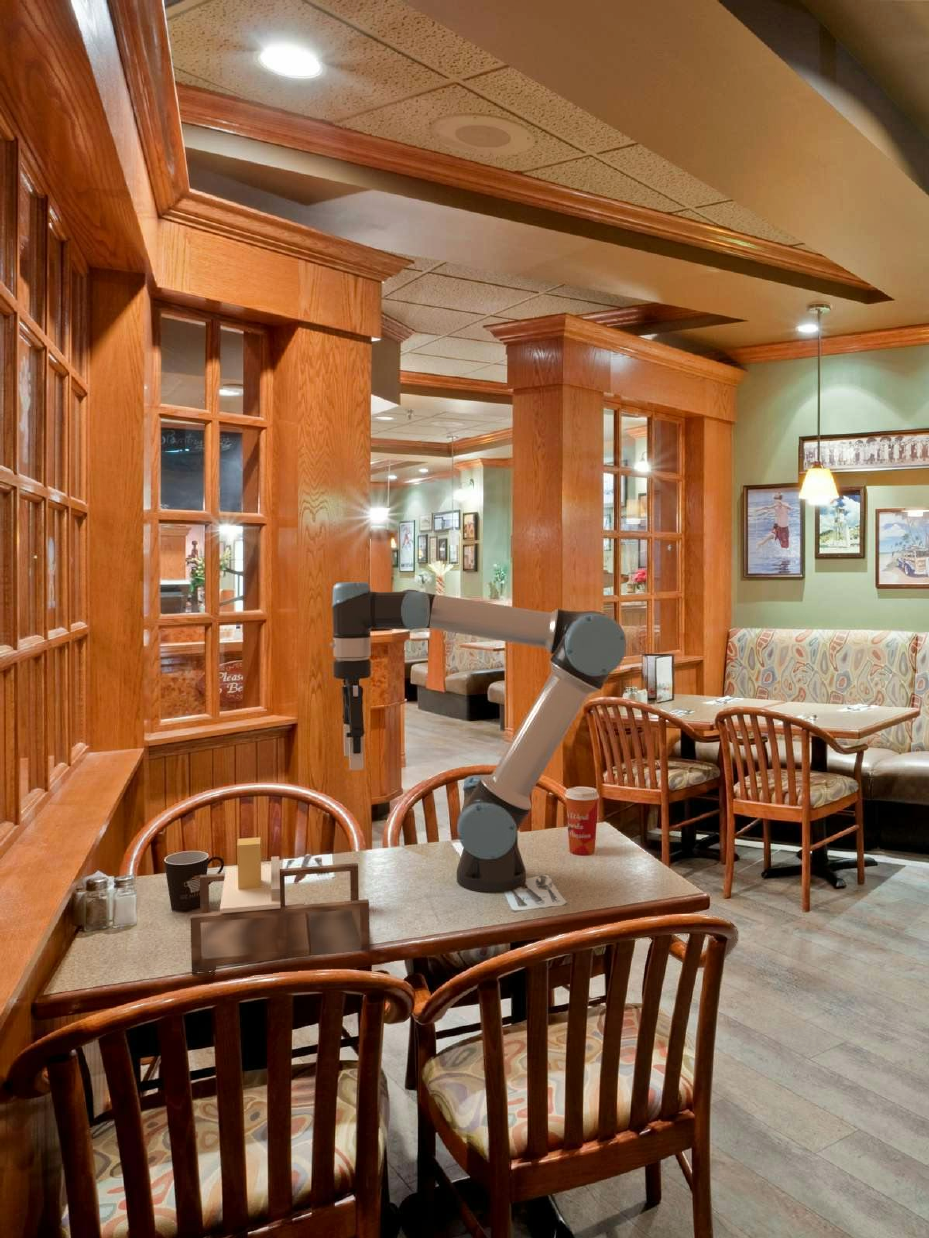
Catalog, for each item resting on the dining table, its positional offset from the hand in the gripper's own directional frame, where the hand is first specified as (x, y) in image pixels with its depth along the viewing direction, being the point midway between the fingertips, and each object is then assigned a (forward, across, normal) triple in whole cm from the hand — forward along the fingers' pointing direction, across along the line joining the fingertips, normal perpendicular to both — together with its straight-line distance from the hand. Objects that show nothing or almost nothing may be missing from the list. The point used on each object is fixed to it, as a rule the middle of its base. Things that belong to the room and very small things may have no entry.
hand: (353, 762), depth 181 cm
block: (+18, +16, -20) cm, 32 cm away
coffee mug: (+29, -5, -32) cm, 43 cm away
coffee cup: (+29, -19, +56) cm, 66 cm away
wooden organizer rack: (+29, +16, -15) cm, 36 cm away
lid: (+19, +17, -20) cm, 32 cm away
